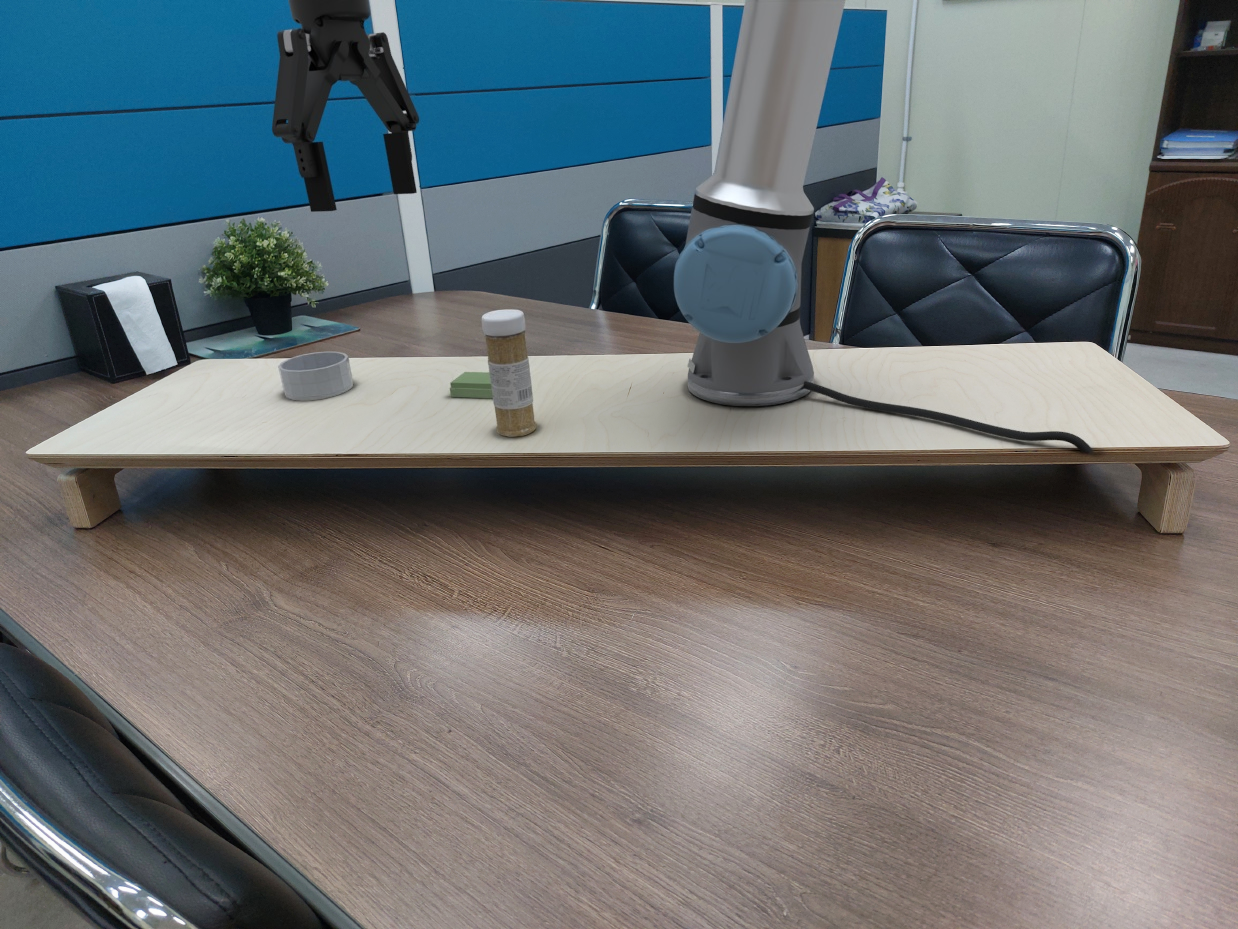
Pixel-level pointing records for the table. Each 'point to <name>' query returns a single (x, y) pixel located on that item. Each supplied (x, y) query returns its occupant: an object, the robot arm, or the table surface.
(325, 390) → the grey short cylinder
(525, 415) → the spice jar
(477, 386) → the green stepped block
